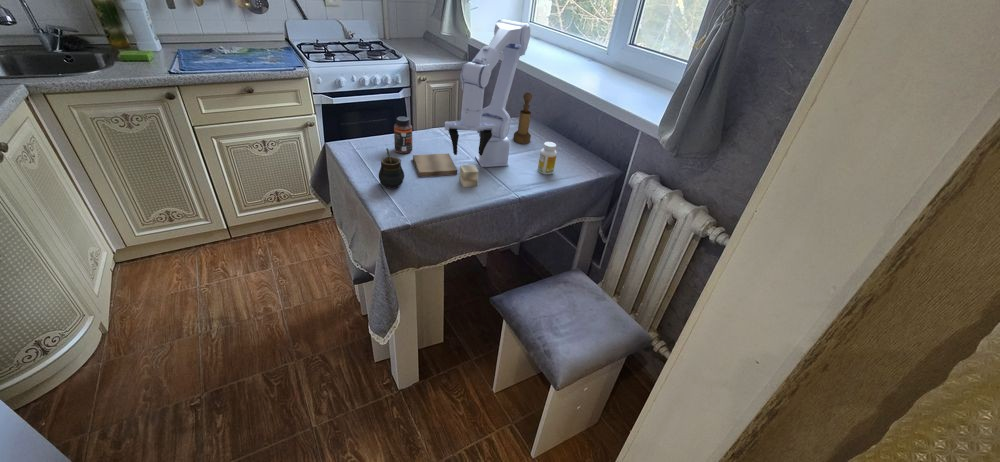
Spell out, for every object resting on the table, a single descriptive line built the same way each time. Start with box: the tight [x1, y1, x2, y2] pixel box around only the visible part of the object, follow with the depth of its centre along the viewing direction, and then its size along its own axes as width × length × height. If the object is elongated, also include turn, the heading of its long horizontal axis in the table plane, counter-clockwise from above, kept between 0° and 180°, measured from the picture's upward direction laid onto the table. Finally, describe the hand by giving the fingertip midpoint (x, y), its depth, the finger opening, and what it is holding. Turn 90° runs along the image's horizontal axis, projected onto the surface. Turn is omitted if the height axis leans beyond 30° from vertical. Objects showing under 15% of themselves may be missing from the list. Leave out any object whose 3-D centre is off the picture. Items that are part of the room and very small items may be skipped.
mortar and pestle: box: [512, 92, 533, 145], centre depth 159 cm, size 7×6×18 cm
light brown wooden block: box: [412, 153, 458, 177], centre depth 139 cm, size 12×12×2 cm
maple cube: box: [459, 164, 479, 188], centre depth 132 cm, size 4×4×5 cm
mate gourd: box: [378, 148, 405, 189], centre depth 125 cm, size 7×8×10 cm
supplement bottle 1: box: [393, 116, 413, 155], centre depth 144 cm, size 6×6×11 cm
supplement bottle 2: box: [537, 141, 558, 175], centre depth 142 cm, size 5×5×10 cm
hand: (467, 153), depth 127 cm, fingers open, 7 cm apart
